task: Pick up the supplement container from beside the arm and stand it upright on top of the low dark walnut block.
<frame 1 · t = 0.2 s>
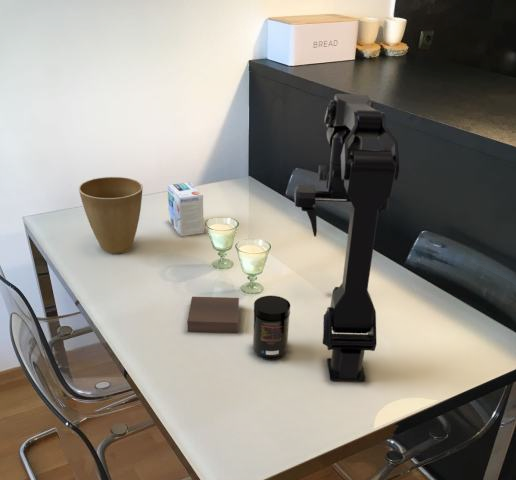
hand: (336, 236, 126), 15 cm above the table, tool pointing down, fingers open, 9 cm apart
supplement container: (269, 351, 116), on the table
plant pot: (117, 248, 151), on the table
walnut block: (214, 319, 125), on the table
light bulb box: (186, 228, 163), on the table
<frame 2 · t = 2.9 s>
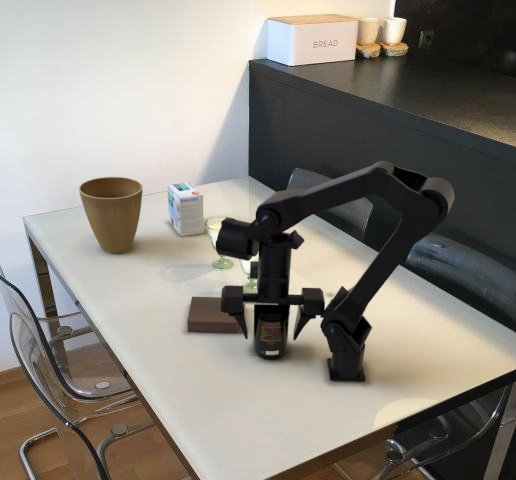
hand: (270, 338, 114), 3 cm above the table, tool pointing down
supplement container: (269, 351, 116), on the table, touching gripper
everything else where it was.
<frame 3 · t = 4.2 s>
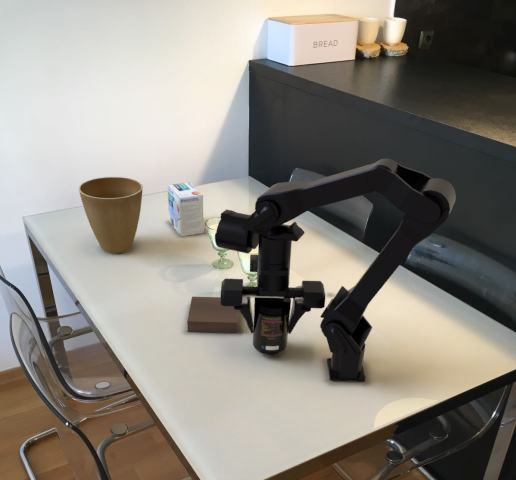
hand: (270, 332, 113), 4 cm above the table, tool pointing down, fingers closed on supplement container, 7 cm apart
supplement container: (269, 347, 115), point 1 cm above the table, touching gripper
everything else where it was.
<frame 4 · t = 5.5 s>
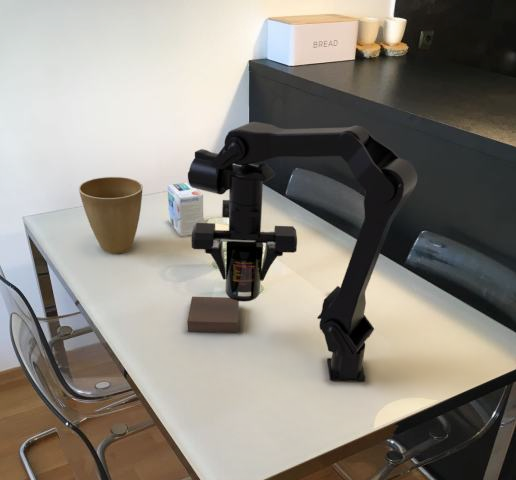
hand: (243, 279, 113), 13 cm above the table, tool pointing down, fingers closed on supplement container, 7 cm apart
supplement container: (242, 294, 114), point 9 cm above the table, touching gripper
everything else where it was.
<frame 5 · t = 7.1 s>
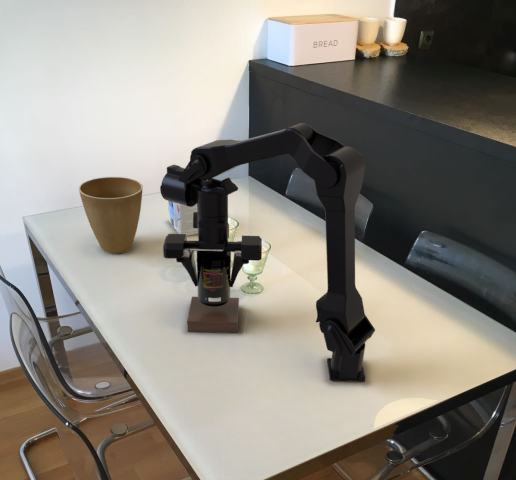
hand: (214, 285, 120), 8 cm above the table, tool pointing down, fingers closed on supplement container, 7 cm apart
supplement container: (214, 300, 122), point 5 cm above the table, touching gripper
everything else where it was.
when the fingers open (6 cm above the table, at t = 8.3 s): supplement container stays where it is, resting on walnut block.
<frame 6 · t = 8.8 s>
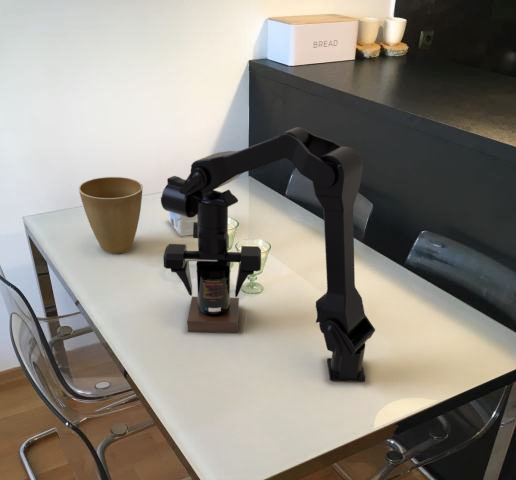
hand: (213, 295, 121), 6 cm above the table, tool pointing down, fingers open, 9 cm apart
supplement container: (214, 310, 123), point 2 cm above the table, touching walnut block
walnut block: (214, 319, 125), on the table, touching supplement container
everything else where it was.
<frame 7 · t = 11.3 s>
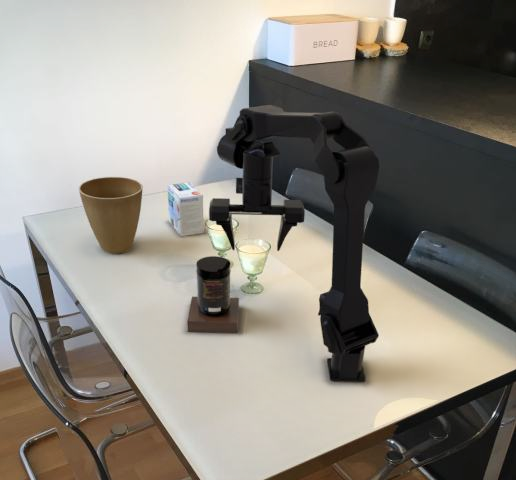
hand: (255, 249, 123), 13 cm above the table, tool pointing down, fingers open, 9 cm apart
nothing on the table moved.
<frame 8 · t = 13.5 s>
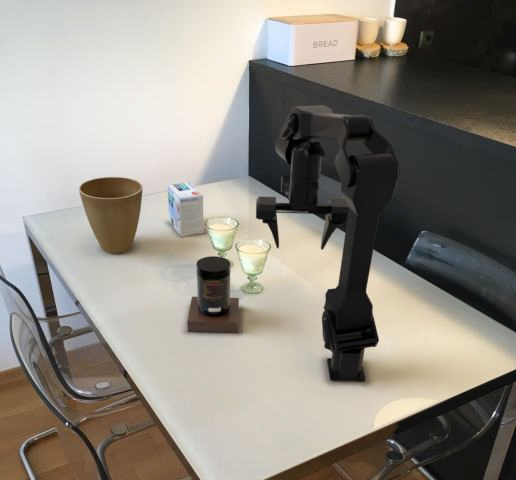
hand: (299, 248, 124), 13 cm above the table, tool pointing down, fingers open, 9 cm apart
nothing on the table moved.
at the end: supplement container 0.1 cm off-centre on the walnut block, point 2.3 cm above the walnut block's base; supplement container tilted 0°; the gripper is holding nothing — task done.
